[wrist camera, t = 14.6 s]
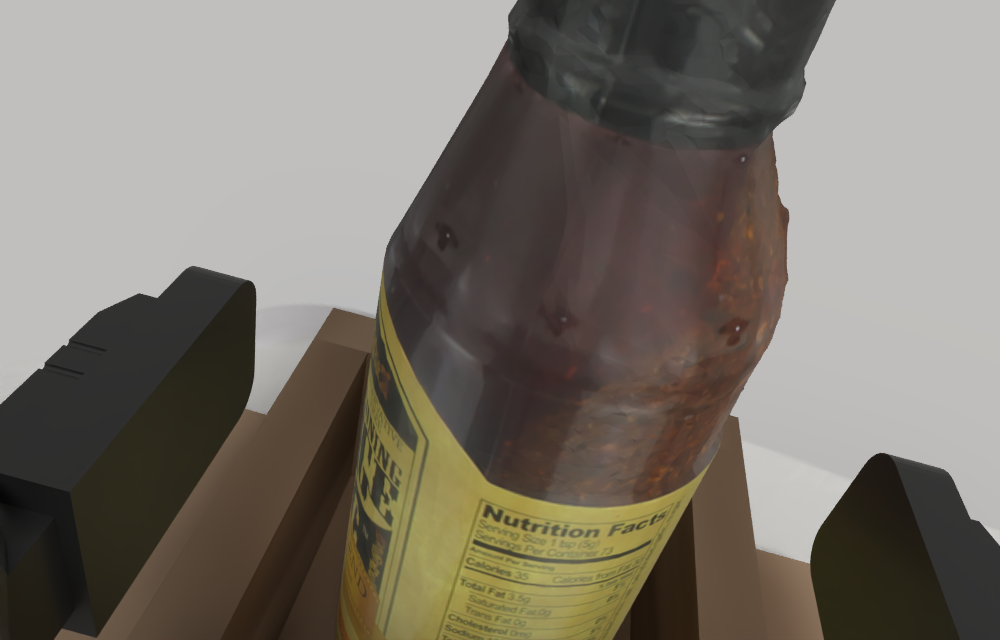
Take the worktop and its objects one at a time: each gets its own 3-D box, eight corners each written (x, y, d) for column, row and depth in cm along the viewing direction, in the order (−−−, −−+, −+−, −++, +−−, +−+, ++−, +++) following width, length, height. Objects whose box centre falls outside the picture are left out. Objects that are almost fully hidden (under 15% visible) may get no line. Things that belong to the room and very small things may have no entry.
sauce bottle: (384, 532, 22) (550, -353, 11) (590, 604, 22) (988, -245, 10) (276, 754, 17) (382, -522, 6) (545, 856, 16) (1263, -322, 5)
